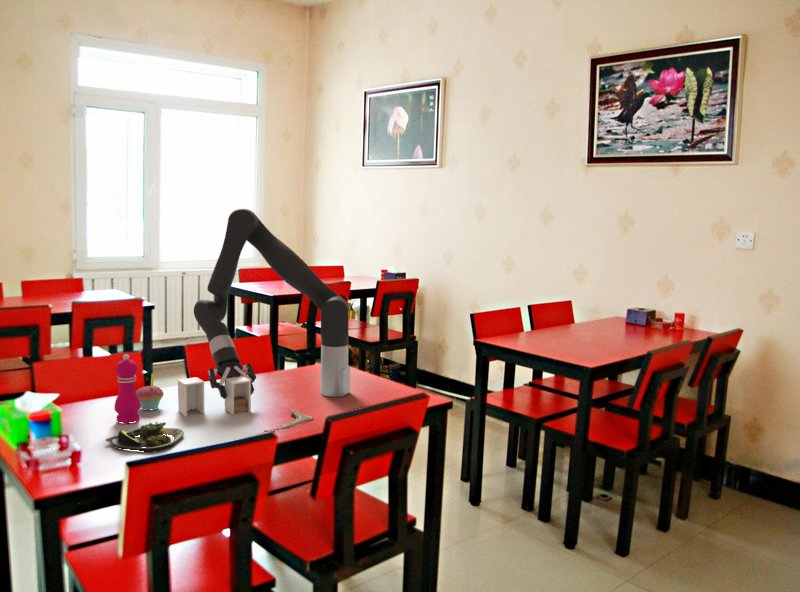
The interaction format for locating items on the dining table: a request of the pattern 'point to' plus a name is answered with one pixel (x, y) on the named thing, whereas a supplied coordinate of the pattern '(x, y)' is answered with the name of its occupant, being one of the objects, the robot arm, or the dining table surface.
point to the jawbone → (294, 421)
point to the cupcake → (150, 396)
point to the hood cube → (237, 392)
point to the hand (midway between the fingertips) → (238, 395)
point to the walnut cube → (239, 404)
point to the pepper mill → (127, 391)
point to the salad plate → (146, 438)
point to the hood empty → (190, 395)
